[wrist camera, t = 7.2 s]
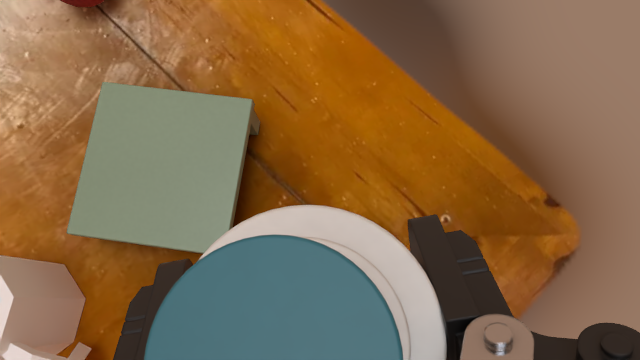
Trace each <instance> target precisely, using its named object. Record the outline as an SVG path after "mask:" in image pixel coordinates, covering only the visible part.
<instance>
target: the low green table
mask: <svg viewBox="0 0 640 360" xmlns="http://www.w3.org/2000/svg"><path fill="white" fill-rule="evenodd" d="M254 105H255V104H254V102H253V100H252V99H244V98H236V97H227V96H219V95H210V94H202V93H193V92H185V91H176V90H168V89H159V88H151V87H142V86H134V85H125V84H117V83H108V82H103V83H102V87H101V91H100V95H99V100H98V104H97V108H96V112H95V116H94V120H93V125H92V129H91V133H90V137H89V141H88V145H87V150H86V154H85V158H84V162H83V166H82V170H81V175H80V179H79V183H78V187H77V191H76V195H75V200H74V204H73V208H72V212H71V216H70V220H69V225H68V229H67V234H71V235H76V236H83V237H90V238H97V239H103V240H110V241H118V242H125V243H131V244H138V245H145V246H152V247H159V248H166V249H173V250H180V251H187V252H194V253H201V254H204V253H205V251H206V250H207V249H208V248H209V247H210V246H211V245H212V244H213V243H214V242H215V241H216V240H217V239H219V238H220V237H221V236H222V235H223V234H225V233H226V232H227V231H229V230H230V229H232V228H233V223H234V217H235V211H236V206H237V200H238V195H239V189H240V183H241V178H242V172H243V167H244V161H245V155H246V150H247V144H248V139H249V134H251V135H258V132H259V126H260V121H259V119H258V117H257V115H256V113H255V111H254Z"/></svg>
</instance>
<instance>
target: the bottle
mask: <svg viewBox="0 0 640 360" xmlns="http://www.w3.org/2000/svg"><path fill="white" fill-rule="evenodd" d="M144 360H447V340H446V333H445V328H444V323H443V318H442V314H441V309H440V305H439V301H438V298H437V295H436V293H435V290H434V288H433V286H432V284H431V282H430V280H429V278H428V276H427V274H426V273H425V271H424V270H423V268H422V267H421V265H420V264H419V262H418V261H417V260H416V258H415V257H414V256H413V255H412V254H411V252H410V251H409V250H408V249H407V248H406V247H405V246H404V245H403V244H402V243H401V242H400V241H399V240H398V239H396V238H395V237H394V236H393V235H392V234H391V233H390V232H388V231H386V230H385V229H383V228H382V227H380V226H379V225H377V224H376V223H374V222H372V221H370V220H368V219H366V218H364V217H362V216H360V215H358V214H355V213H352V212H349V211H346V210H343V209H338V208H333V207H328V206H319V205H296V206H287V207H282V208H277V209H273V210H270V211H267V212H264V213H261V214H258V215H255V216H253V217H251V218H249V219H247V220H245V221H243V222H241V223H239V224H238V225H236V226H235V227H233V228H232V229H230V230H229V231H227V232H226V233H225V234H223V235H222V236H221V237H220V238H219V239H217V240H216V241H215V242H214V243H213V244H212V245H211V246H210V247H209V248H208V249H207V250H206V251H205V253H204V254H203V255H202V256H201V257H200V258H199V260H198V261H197V262H196V263H195V264H194V265H193V266H192V267H190V268H189V269H188V270H187V271H186V272H185V273H184V274H183V275H182V276H181V277H180V278H179V279H178V281H177V282H176V283H175V284H174V285H173V287H172V288H171V290H170V291H169V292H168V294H167V295H166V297H165V298H164V300H163V302H162V304H161V306H160V307H159V309H158V311H157V313H156V316H155V318H154V321H153V323H152V326H151V328H150V332H149V336H148V340H147V343H146V349H145V356H144Z"/></svg>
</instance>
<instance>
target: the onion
mask: <svg viewBox="0 0 640 360" xmlns="http://www.w3.org/2000/svg"><path fill="white" fill-rule="evenodd" d="M61 1H63V2H64V3H67V4H70V5H73V6H76V7H92V6H95V5H98V4H100V3H102V2H103V1H104V0H61Z"/></svg>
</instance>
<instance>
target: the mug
mask: <svg viewBox="0 0 640 360" xmlns="http://www.w3.org/2000/svg"><path fill="white" fill-rule="evenodd" d="M85 300H86V298H85V297H84V295H83V294H82V292H81V290H80V289H79V287H78V286H77V284H76V282H75V281H74V279H73V278H72V276H71V274H70V273H69V271H68V270H67V268H66V266H65V265H64V264H59V263H51V262H44V261H37V260H30V259H23V258H16V257H9V256H2V255H0V360H85V358H86V357H87V355H88V354H89V352H90V351H91V348H89V347H88V346H86V345H84V344H82V343H80V342H79V343H78V344H77V346H76V347H75V349H74V350H73V351H72V353H71V354H70V356H69V357H68V358H66V357H62V356H58V355H57V354H58V353H59V352H61V351H62V350H63V349H65V348H66V347H68V346H69V345H70V344H72V343H73V342H74V339H75V336H76V332H77V328H78V325H79V321H80V318H81V314H82V310H83V307H84V303H85Z"/></svg>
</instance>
